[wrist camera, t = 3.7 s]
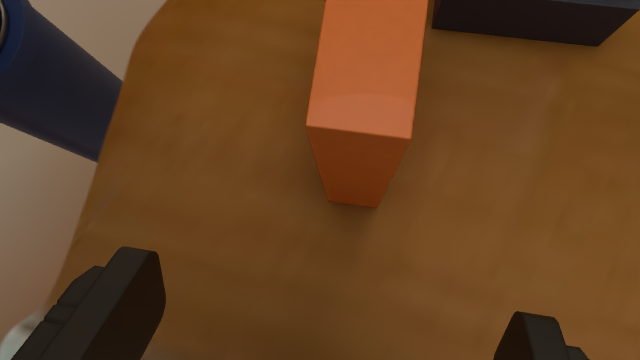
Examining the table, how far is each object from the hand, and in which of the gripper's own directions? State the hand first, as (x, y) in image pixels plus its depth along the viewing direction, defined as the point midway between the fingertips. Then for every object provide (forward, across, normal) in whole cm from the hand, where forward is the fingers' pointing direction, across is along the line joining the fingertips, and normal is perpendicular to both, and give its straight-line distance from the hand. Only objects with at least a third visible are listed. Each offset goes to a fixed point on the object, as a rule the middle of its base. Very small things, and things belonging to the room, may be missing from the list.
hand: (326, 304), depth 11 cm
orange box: (+24, 0, +7) cm, 25 cm away
